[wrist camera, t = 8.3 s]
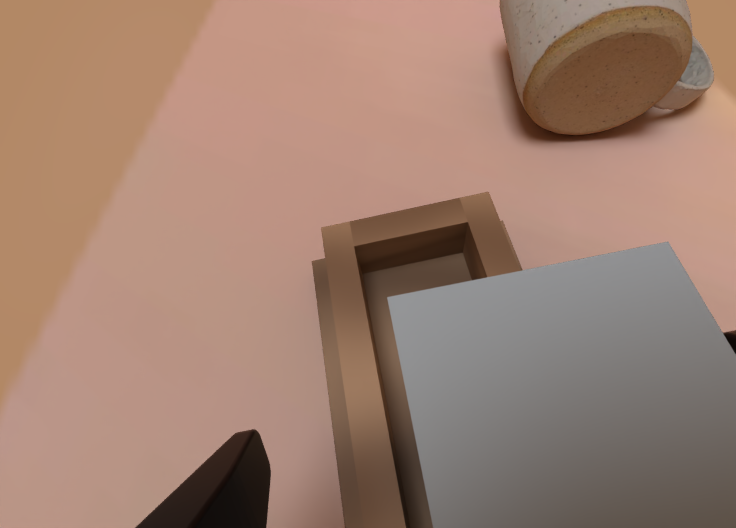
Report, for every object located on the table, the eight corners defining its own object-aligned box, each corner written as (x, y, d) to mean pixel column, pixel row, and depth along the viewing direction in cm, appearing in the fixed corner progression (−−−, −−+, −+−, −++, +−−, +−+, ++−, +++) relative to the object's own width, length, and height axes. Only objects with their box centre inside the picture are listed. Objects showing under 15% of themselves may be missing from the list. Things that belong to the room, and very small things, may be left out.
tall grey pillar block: (531, 541, 13) (1010, 812, 2) (439, 557, 14) (505, 885, 3) (493, 413, 15) (668, 241, 4) (413, 428, 15) (387, 297, 4)
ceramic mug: (507, 151, 22) (548, 6, 15) (488, 51, 26) (514, -100, 19) (720, 138, 21) (864, -23, 14) (668, 36, 25) (763, -129, 18)
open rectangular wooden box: (754, 888, 10) (892, 1058, 7) (404, 947, 11) (396, 1136, 8) (499, 231, 20) (512, 186, 17) (316, 270, 20) (297, 232, 17)
